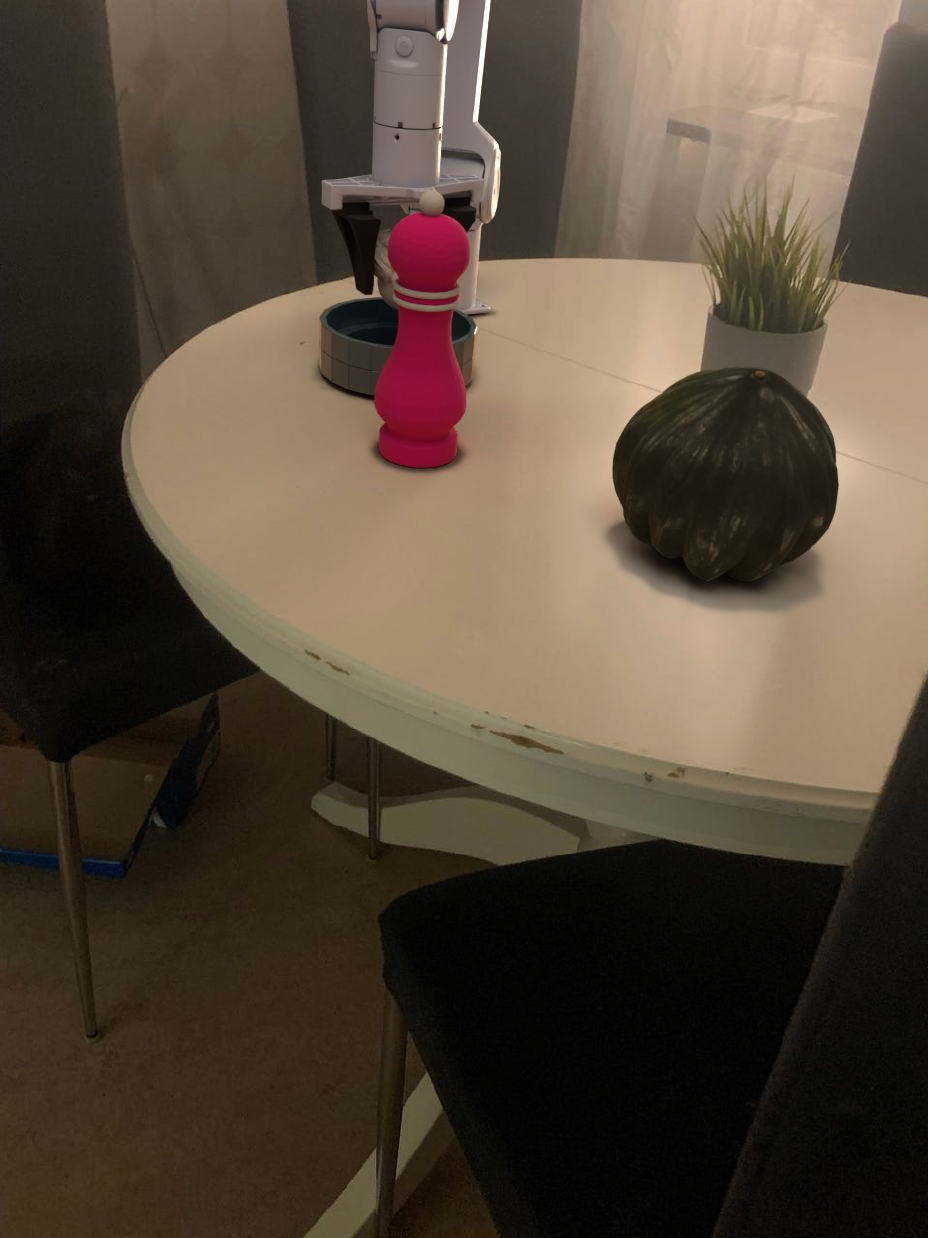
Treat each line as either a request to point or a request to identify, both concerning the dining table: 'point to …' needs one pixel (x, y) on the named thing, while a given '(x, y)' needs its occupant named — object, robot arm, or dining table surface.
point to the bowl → (376, 342)
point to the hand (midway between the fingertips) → (400, 288)
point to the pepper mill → (423, 340)
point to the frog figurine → (384, 269)
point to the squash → (728, 473)
